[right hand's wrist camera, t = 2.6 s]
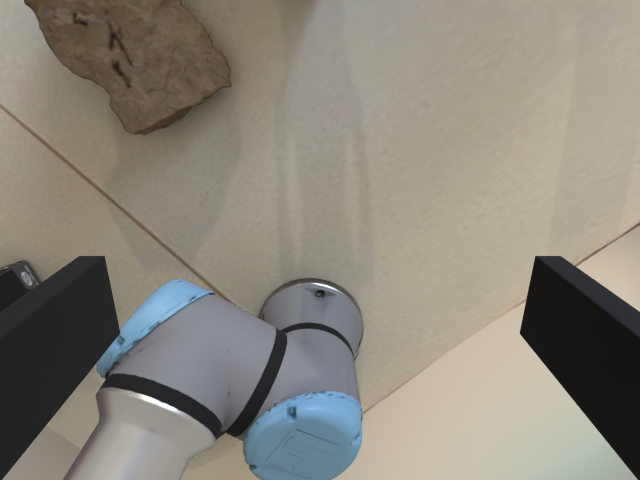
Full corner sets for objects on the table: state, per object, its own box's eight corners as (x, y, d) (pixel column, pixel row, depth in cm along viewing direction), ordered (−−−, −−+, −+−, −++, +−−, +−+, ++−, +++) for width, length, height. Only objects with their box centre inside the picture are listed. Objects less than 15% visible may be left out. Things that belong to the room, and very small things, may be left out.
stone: (-6, -32, 41) (-35, -47, 36) (117, -110, 42) (106, -137, 36) (138, 144, 51) (131, 153, 46) (236, 80, 51) (241, 81, 46)
